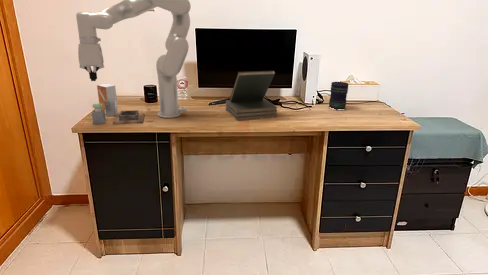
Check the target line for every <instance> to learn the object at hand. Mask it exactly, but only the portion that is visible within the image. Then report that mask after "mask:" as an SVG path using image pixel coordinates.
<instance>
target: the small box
mask: <svg viewBox="0 0 488 275" xmlns="http://www.w3.org/2000/svg"><path fill="white" fill-rule="evenodd" d="M96 88H97V96H98V104H102V107H101V109H104V110H106V109H105V100H106V99H116V102H117V103H118V98H117V91H116V90H117V88H116V85H115V84H112V83H101V84H97V85H96ZM117 108H118V105H117Z"/></svg>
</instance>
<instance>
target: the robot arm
mask: <svg viewBox="0 0 488 275" xmlns="http://www.w3.org/2000/svg"><path fill="white" fill-rule="evenodd" d="M157 7H158V8H161V9H162V10H165V11H168V12H170V13H171V15H172V24H171V26H170V27H171V28H170V30H169V33H168V35H167V38H166V40H165V43H164V44H165V46H164V47H165V49H166V50H167V51H166V53H165V54H162V55H160V56H159V57H157V60H156V73H157V84H158V97H159V98H158V99H159V111H158V112H157V114H156V115H157V116H158V117H159V118H165V119H170V118H171V119H173V118H174V119H175V118H178V117H180V116H181V115H182V112H185V113H186V112H187V111H188V109H187V107H184V106H183V107H180V106H179V100H178V99H179V98H178V97H179V96H178V78H177V76H178V74H179V73H180V72H181V71H182V69H183V66H184V63H185V60H186V58H187V56H188V52H189V42H188V39H187V37H188V33H189V31H190V26H191V18H190V13H189V12H190V11H191V3H190V0H122V1H120V2H118V3H116V4H113V5H111V6H109V7H106V8H105V9H103V10H100V11H98V12H91V11H78V12H76V15H75V16H76V25H77V30H78V31H77V32H78V40H79V43H78V45H77V46H78V49H77V50H78V51H77V52H78V54H77V55H78V56H77V57H78V63H79V69H82V70H85V71H86V72H88V74H89V75H88V76H89V79H90V81H91V82H96V81H97V79H98V74H97V72H98V70H100V69H104V68H105V65H104V62H105V61H104V56H103V50H102V47H101V43H99V42H101V40H102V39H101V37H98V35H97V29H98V30H110V29H111V28H112V27H113V26H114V25H115V24H118V23H119V22H122V21H124V20H127V19H133V18H137V17H138V16H141V15H142V14H144V13H147V12H149V11H152V10H153V9H156V8H157ZM92 67H93V69H92Z"/></svg>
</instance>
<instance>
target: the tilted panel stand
mask: <svg viewBox="0 0 488 275" xmlns="http://www.w3.org/2000/svg"><path fill="white" fill-rule="evenodd" d="M275 74H276V72H275V71H274V70H260V71H259V70H258V71H238V72H237V75H236V78H235V81H234V84H233V88H232V90H231V94H230V97H229V100H227V99H226V100H225V111H226V112H227V111H228V112H229V113H230V114H231V115H232V116H233V117H234V118H235V119H236V120H239V121H246V120H245V119H251V120H261V119H260V118H263V119H271V118H272V117H275V118H277V111H278V109H277V108H278V107H277V106H276V105H275V104H274V103H272V102H270V101H269V100H267V98H265V96H266V95H267V94H266V93H267V92H268V89H269V87H270V85H271V83H272V81H273V78H274V77H275ZM228 112H227V113H228ZM229 113H228V114H229ZM230 114H229V115H230ZM231 115H230V116H231ZM232 116H231V117H232ZM233 117H232V118H233ZM235 119H234V120H235ZM272 119H273V118H272ZM236 120H235V121H236Z"/></svg>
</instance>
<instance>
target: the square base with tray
mask: <svg viewBox="0 0 488 275" xmlns="http://www.w3.org/2000/svg"><path fill="white" fill-rule="evenodd" d="M139 112H140V111H139V110H134V109H133V110H121V111H120V113H118V114H117V115H116V116H114V117H115V118H114V120H113V122H112V124H113V125H127V124H128V125H129V124H130V125H133V124H134V125H135V124H138V125H139V124H143V123H144V119H145V116H146V114H145V112H141V113H139Z"/></svg>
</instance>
